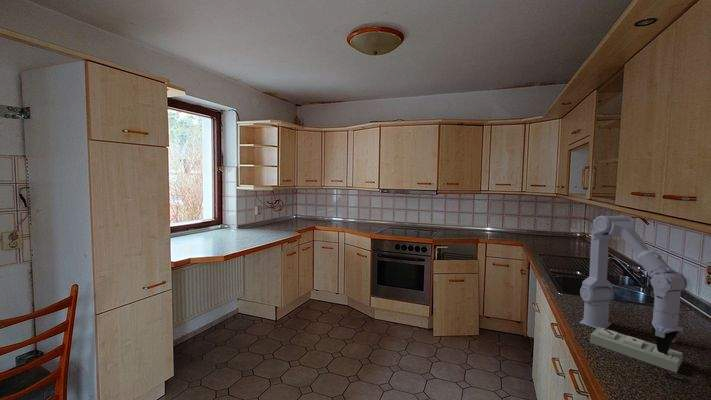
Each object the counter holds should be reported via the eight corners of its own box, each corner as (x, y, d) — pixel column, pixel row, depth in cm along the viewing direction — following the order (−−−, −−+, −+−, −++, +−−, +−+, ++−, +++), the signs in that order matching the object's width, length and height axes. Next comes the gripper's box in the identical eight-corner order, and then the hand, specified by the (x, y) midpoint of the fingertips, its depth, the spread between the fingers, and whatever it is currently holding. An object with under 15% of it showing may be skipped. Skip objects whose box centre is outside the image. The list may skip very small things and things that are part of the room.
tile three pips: (602, 333, 117) (602, 327, 117) (617, 338, 114) (618, 332, 114) (598, 337, 115) (598, 331, 114) (613, 342, 111) (614, 335, 111)
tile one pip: (627, 341, 112) (627, 334, 112) (643, 346, 108) (644, 340, 108) (623, 345, 109) (624, 339, 109) (640, 351, 106) (641, 344, 105)
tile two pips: (654, 352, 106) (654, 346, 106) (672, 358, 103) (673, 352, 103) (651, 357, 104) (651, 351, 104) (670, 364, 100) (670, 357, 100)
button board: (598, 334, 120) (598, 326, 120) (681, 361, 103) (682, 352, 103) (589, 342, 115) (590, 334, 115) (676, 372, 98) (677, 363, 97)
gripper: (680, 321, 94) (676, 366, 96) (687, 308, 103) (684, 349, 104) (647, 313, 100) (644, 355, 101) (657, 301, 109) (654, 340, 110)
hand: (662, 351), depth 103 cm, fingers closed, pressing on tile two pips
